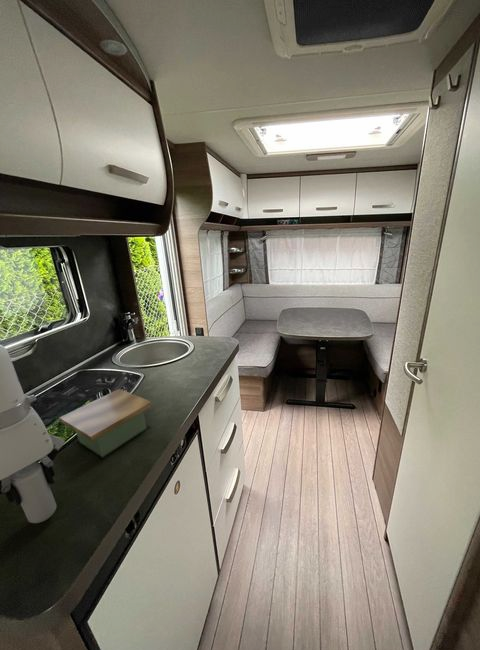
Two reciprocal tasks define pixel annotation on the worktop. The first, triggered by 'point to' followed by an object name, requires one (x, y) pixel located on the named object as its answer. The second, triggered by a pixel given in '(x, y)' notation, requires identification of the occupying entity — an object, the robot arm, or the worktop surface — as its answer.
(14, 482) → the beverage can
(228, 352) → the worktop surface
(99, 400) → the board
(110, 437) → the box
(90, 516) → the worktop surface
